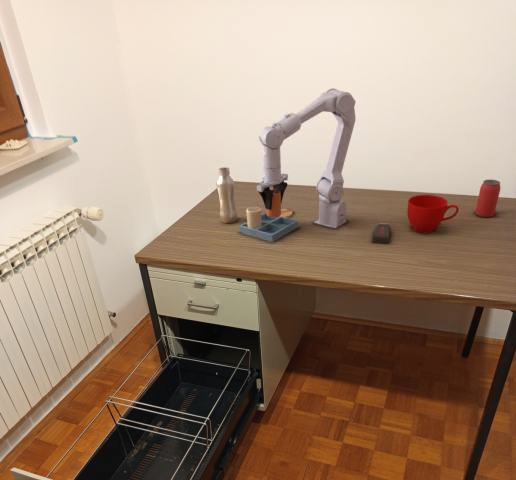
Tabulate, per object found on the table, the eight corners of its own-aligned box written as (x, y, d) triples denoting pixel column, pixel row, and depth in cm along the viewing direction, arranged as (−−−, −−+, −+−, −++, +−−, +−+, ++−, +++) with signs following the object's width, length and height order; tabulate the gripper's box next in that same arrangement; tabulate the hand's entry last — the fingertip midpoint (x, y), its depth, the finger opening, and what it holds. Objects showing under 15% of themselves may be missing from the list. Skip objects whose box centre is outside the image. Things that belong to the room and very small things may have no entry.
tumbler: (284, 213, 172) (283, 190, 168) (275, 218, 169) (274, 195, 165) (272, 210, 175) (271, 188, 170) (263, 215, 172) (262, 192, 167)
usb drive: (372, 242, 167) (373, 234, 165) (375, 228, 176) (376, 221, 174) (388, 243, 165) (389, 235, 164) (390, 229, 175) (391, 222, 173)
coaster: (297, 212, 192) (297, 211, 192) (283, 220, 186) (283, 219, 186) (278, 208, 197) (278, 207, 196) (264, 215, 191) (264, 214, 191)
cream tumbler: (264, 229, 179) (263, 208, 174) (255, 234, 176) (254, 213, 171) (254, 226, 182) (252, 205, 177) (244, 231, 179) (243, 210, 174)
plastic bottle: (235, 225, 185) (231, 171, 173) (218, 225, 186) (212, 171, 174) (239, 219, 190) (235, 166, 178) (222, 218, 191) (217, 166, 179)
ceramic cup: (456, 237, 167) (462, 209, 161) (405, 235, 170) (408, 207, 164) (452, 222, 177) (457, 195, 171) (403, 221, 180) (407, 194, 174)
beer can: (491, 211, 183) (498, 178, 176) (496, 217, 178) (504, 184, 171) (472, 211, 184) (479, 179, 177) (477, 218, 179) (484, 185, 172)
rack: (298, 228, 180) (298, 220, 178) (272, 243, 171) (272, 235, 169) (265, 219, 188) (265, 212, 186) (239, 233, 179) (238, 225, 177)
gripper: (276, 159, 169) (277, 197, 177) (248, 170, 160) (251, 210, 168) (292, 161, 165) (293, 201, 173) (265, 173, 157) (267, 214, 165)
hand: (273, 206), depth 171 cm, fingers closed on tumbler, 5 cm apart
